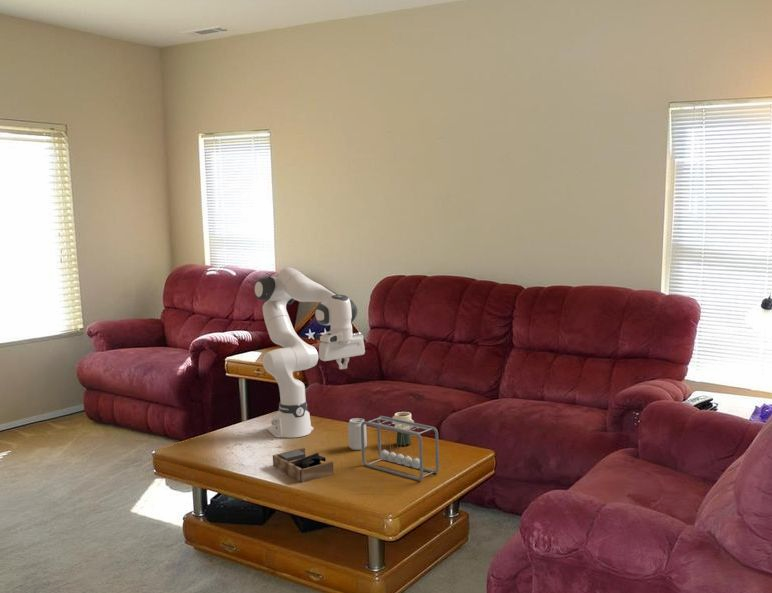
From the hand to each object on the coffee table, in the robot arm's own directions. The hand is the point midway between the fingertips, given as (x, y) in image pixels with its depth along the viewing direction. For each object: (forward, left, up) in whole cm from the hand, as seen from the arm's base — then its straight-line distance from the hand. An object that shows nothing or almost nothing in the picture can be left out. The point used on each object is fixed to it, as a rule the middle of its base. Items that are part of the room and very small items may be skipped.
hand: (343, 368), depth 304 cm
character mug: (+10, +22, -34) cm, 42 cm away
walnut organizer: (+9, -25, -34) cm, 43 cm away
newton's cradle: (+33, +3, -34) cm, 48 cm away
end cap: (+14, -25, -34) cm, 45 cm away
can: (+1, +5, -34) cm, 35 cm away
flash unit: (+4, -27, -34) cm, 44 cm away
